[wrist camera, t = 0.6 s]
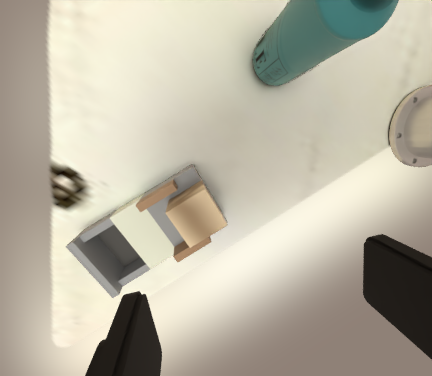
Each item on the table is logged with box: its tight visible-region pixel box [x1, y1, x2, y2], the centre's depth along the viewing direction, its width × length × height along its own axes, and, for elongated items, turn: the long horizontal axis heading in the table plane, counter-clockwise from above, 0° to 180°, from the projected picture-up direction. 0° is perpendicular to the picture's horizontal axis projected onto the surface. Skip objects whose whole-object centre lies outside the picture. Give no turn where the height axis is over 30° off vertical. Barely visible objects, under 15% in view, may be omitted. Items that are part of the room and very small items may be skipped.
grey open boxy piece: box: [66, 164, 227, 298], centre depth 29 cm, size 18×9×6 cm, turn 120°
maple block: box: [166, 180, 227, 248], centre depth 26 cm, size 5×5×5 cm
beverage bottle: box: [253, 0, 398, 86], centre depth 19 cm, size 6×7×20 cm
